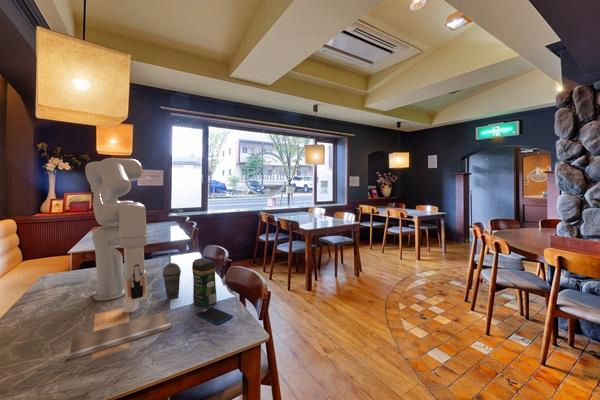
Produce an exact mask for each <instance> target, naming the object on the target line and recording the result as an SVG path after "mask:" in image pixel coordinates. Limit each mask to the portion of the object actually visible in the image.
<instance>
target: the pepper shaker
mask: <svg viewBox="0 0 600 400" xmlns="http://www.w3.org/2000/svg"><path fill="white" fill-rule="evenodd" d="M122 302H123V303H122V305H123V313H134V312H136V311H137V310H138V309H139V308H140V302H139V301H135V302H131V303H127V304H126V301H125V298H123V300H122Z"/></svg>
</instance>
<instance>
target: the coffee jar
mask: <svg viewBox="0 0 600 400" xmlns="http://www.w3.org/2000/svg"><path fill="white" fill-rule="evenodd" d="M216 266H217V265H216V261H214V260H212V259H211V260H210V259H207V258H204V257H201V258H197V259H194V261H192V266H191V267H192V269H191V270H192V276H193V278H192V279H193V281H192V282H193V288H192V289H193V290H192V291H193V293H192V301H193V303H194V304H195V305H197V306H199V307H204V308H205V307H209V305H210V306H212V305H214V304H215V303H216V302H217V301H218V300H217V288H216V287H217V285H216V269H217V267H216Z"/></svg>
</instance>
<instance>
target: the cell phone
mask: <svg viewBox="0 0 600 400" xmlns="http://www.w3.org/2000/svg"><path fill="white" fill-rule="evenodd" d="M195 316H197V317H199V318H201V319H203V320H204V321H208V322H209V323H211V324H213V325H215V326H220V325H222V324H224V323H226V322H227V321H230V320H231V319H233V318H234V315H232V314H230V313H227V312H225V311H223V310H221V309H219V308H216V307H213V306H210V307H209V306H208V307H206V308H204V309H203V310H200V311H198V312H197V313H195Z"/></svg>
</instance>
